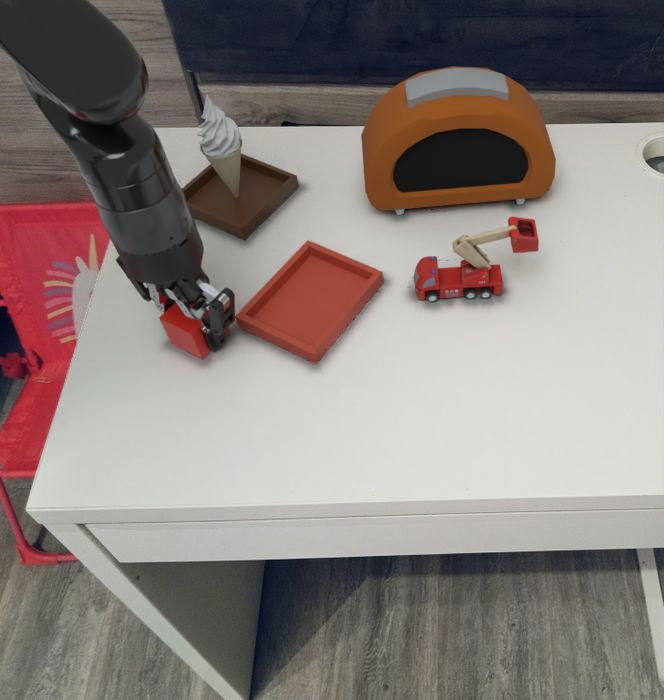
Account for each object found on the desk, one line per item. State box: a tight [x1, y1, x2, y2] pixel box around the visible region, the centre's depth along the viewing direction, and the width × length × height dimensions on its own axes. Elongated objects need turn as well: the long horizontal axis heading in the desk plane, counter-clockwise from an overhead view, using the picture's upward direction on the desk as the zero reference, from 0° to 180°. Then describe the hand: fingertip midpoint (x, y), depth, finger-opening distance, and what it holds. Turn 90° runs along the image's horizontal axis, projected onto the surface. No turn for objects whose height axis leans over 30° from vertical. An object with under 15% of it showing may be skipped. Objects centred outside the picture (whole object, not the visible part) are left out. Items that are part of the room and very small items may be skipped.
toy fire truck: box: [413, 216, 540, 303], centre depth 86 cm, size 3×14×10 cm, turn 95°
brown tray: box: [181, 153, 300, 241], centre depth 98 cm, size 11×11×2 cm
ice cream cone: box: [196, 93, 243, 197], centre depth 93 cm, size 5×5×15 cm
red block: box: [158, 302, 230, 360], centre depth 84 cm, size 4×4×4 cm
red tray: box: [235, 239, 385, 365], centre depth 88 cm, size 14×11×2 cm
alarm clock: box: [360, 66, 557, 216], centre depth 94 cm, size 23×9×17 cm, turn 97°
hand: (200, 335), depth 85 cm, fingers closed on red block, 4 cm apart
